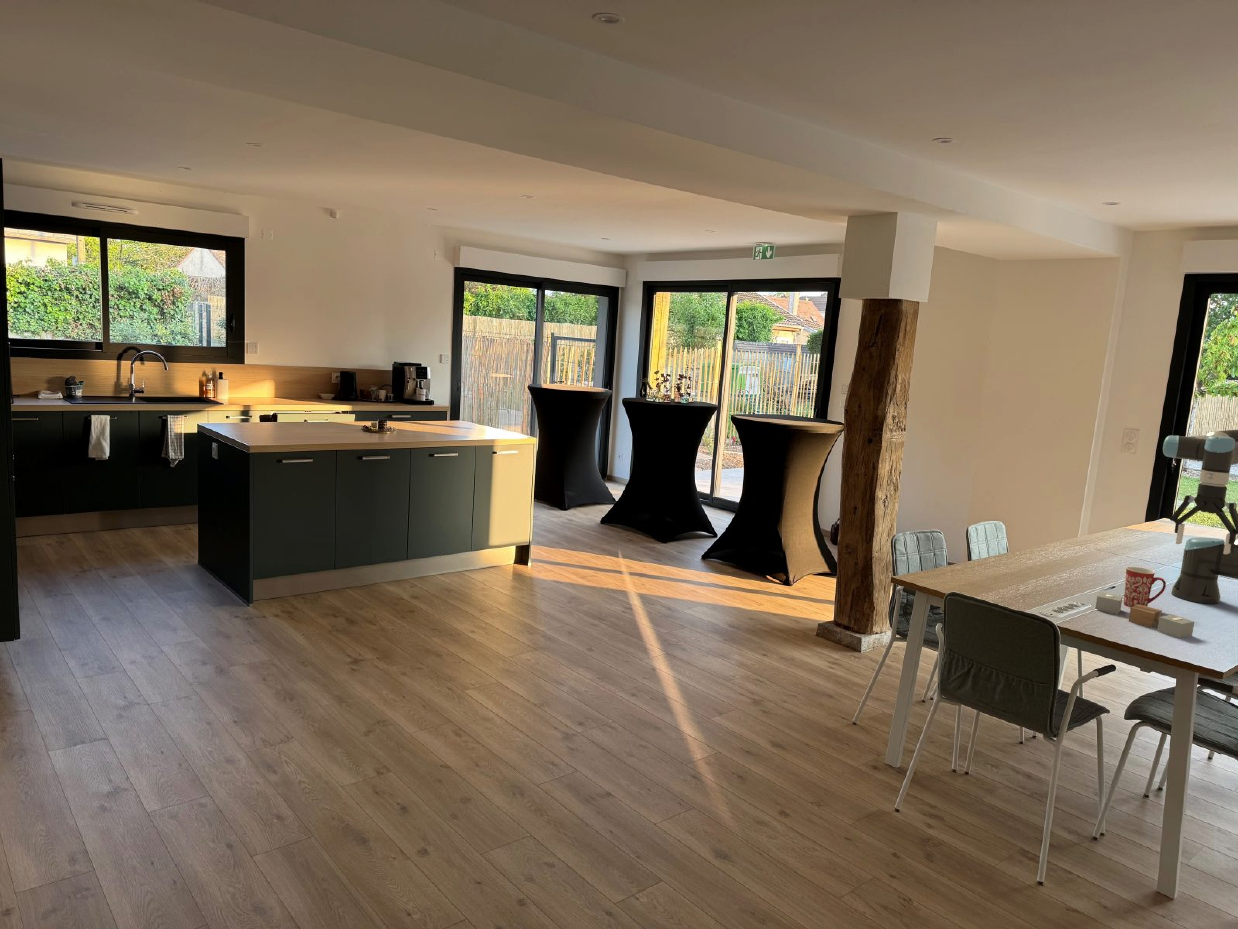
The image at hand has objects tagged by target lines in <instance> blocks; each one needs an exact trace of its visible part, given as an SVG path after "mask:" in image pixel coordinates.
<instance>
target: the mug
mask: <svg viewBox="0 0 1238 929" xmlns="http://www.w3.org/2000/svg"><path fill="white" fill-rule="evenodd" d="M1125 570H1126V571H1125V580H1124V581H1125V583H1124V593H1123V594H1124V595H1123V605H1124V606H1125V607H1128V608H1131V607H1133V606H1136V605H1139V604H1140V605H1143V606H1147V607H1149V604H1150V603H1152V602H1153V601H1155V600H1156V599H1158V598H1159V596H1161V595H1162V594H1163V593H1164V591H1165V590H1166V587H1167V583H1166V581H1165V579H1164V578H1162V577H1159V576H1157V577H1155V574H1156V571H1154V570H1151V569H1149V568H1144V567H1139V566H1126V567H1125ZM1156 581H1161V582H1162V588H1161V589H1160V591H1159V592H1158V593H1157V594H1155V595H1154V596H1152V597H1150V596H1151V592H1152V587H1153V586H1152V585H1154V584H1155V583H1156Z"/></svg>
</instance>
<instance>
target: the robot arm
mask: <svg viewBox="0 0 1238 929" xmlns="http://www.w3.org/2000/svg"><path fill="white" fill-rule="evenodd" d="M1162 453H1163V455H1164V456H1165V457H1168V458H1173V459H1181V460H1189V461H1197V462H1202V463H1201V469H1200V475H1199V484H1198V487H1197V491H1196V492H1197V493H1196V496H1192V495H1191V494H1188V495H1187V494H1186V495H1185V496H1184V498H1183V502H1182V503H1181V504H1180V505H1179V506H1178V507H1177V509H1176V510H1175V511H1174V512H1173V514H1172V515H1171V516H1170V517H1169V521H1170V522H1174V523H1175V526H1174V533H1175V534H1176V539H1175V540H1176V541H1175V544H1176V545H1181V544H1182V543H1183V538H1184V532H1185V526H1186V525H1185V524H1184V522H1186V521H1187V520H1188V519H1190V518H1191V517H1192V516H1194V515H1195V514H1197V513H1199V512H1201V513H1208V514H1211V515H1213V514H1215V515H1216V516H1217V517H1218V519H1219V520H1220V522H1222V524H1223V526H1224V527H1225V529H1226V530H1227V531H1228V532H1229V533H1226V536H1225V540H1224V539H1221V538H1215V537H1190V538H1188V539H1187V540H1186V542H1185V545H1184V548H1183V555H1182V561H1181V562H1182V563H1181V567H1180V568H1181V569H1180V573H1179V576H1178V578H1177V579H1176V581H1175V583H1174V584H1173V585H1172V588H1171V595H1172V596H1174V597H1176V598H1179V599H1182V600H1186V601H1189V602H1195V603H1201V604H1210V605H1211V604H1212V605H1217V604H1219V603H1220V602H1221V592H1220V588H1219V583H1218V580H1219V579H1218V578H1219V576H1221V577H1224V578H1229V579H1235V580H1238V510H1237V505H1238V504H1237V503H1236V502H1226V496H1227V492H1228V487H1227V485H1228V484H1229V479H1230V471H1231V467H1232V466H1233V465H1237V464H1238V429H1225V430H1217V431H1212V432H1209V433H1207V434H1205V435H1202V434H1200V435H1190V436H1183V435H1181V436H1180V435H1168V436H1166V437H1165V439H1164V441H1163V445H1162ZM1193 502H1194V503H1195V506H1194V507H1193V508H1192V509H1190V510H1189V511H1187V512H1186V513H1185V514H1184V515H1182V513H1184V512H1185V510H1186V509H1187V507H1188V506H1189V505H1190V504H1191V503H1193ZM1223 508H1226V509H1227V510H1228V512H1229V515H1230V518H1231V520H1232V522H1233V524H1232V522H1231V520H1230V519H1229V517H1228V516H1227V515H1226V512H1225V511H1224V510H1223ZM1181 515H1182V516H1181ZM1180 516H1181V517H1180Z"/></svg>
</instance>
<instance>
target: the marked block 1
mask: <svg viewBox="0 0 1238 929" xmlns="http://www.w3.org/2000/svg"><path fill="white" fill-rule="evenodd" d="M1122 602H1123V596H1122V595H1117V594H1111V593H1107V592H1102V591H1100V592H1099V593H1098V594H1097V597H1096V601H1095V608H1094V610H1095V609H1098V610H1097V611H1100V610H1101V612H1106V613H1111V614H1114V613H1115V615H1119V614H1120V612H1121V608H1122ZM1118 613H1119V614H1118Z"/></svg>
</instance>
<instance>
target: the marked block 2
mask: <svg viewBox="0 0 1238 929" xmlns="http://www.w3.org/2000/svg"><path fill="white" fill-rule="evenodd" d="M1194 625H1195V621H1194V620H1190V619H1188V618H1183V617H1180V616H1176V615H1175V614H1169V615H1163V616H1162V615H1161V617H1159V623H1158V625H1157V630H1156V631H1157V632H1158V633H1161V634H1164V635H1168V636H1171V637H1174V638H1177V639H1184V638H1189V637H1192V636H1193V632H1194Z"/></svg>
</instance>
